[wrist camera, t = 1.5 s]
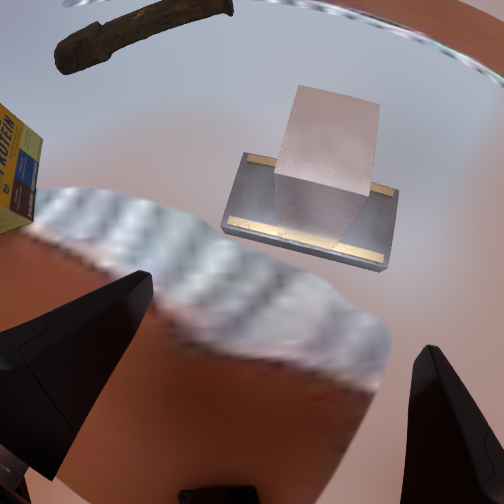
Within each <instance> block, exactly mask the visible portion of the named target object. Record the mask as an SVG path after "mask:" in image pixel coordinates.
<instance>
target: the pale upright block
mask: <svg viewBox="0 0 504 504" xmlns="http://www.w3.org/2000/svg"><path fill="white" fill-rule="evenodd" d="M379 108H380V104H376V103H373V102H369V101H366V100H362V99H358V98H354V97H350V96H347V95H342V94H338V93H334V92H329V91H324V90H321V89H316V88H311V87H306V86H300V85H298V89H297V92H296V96H295V99H294V103H293V106H292V110H291V113H290V117H289V121H288V125H287V128H286V131H285V135H284V138H283V142H282V145H281V149H280V152H279V156H278V159H277V163H276V166H275V170H274V184H275V198H276V213H277V229H278V232H281V233H285V234H290V235H294V236H298V237H302V238H306V239H309V240H313V241H317V242H321V243H325V244H329V245H333V246H336V244H337V243H338V242H339V240H340V239H341V237H342V236H343V234H344V233H345V231H346V230H347V228H348V227H349V225H350V224H351V222H352V221H353V219H354V218H355V216H356V215H357V213H358V212H359V210H360V209H361V207H362V206H363V204H364V203H365V201H366V200H367V198H368V197H369V192H370V185H371V178H372V171H373V163H374V156H375V147H376V139H377V130H378V120H379Z"/></svg>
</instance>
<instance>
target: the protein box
mask: <svg viewBox="0 0 504 504" xmlns="http://www.w3.org/2000/svg"><path fill="white" fill-rule="evenodd" d="M42 143H43V139H42V138H41V137H40V136H39V135H37V134H36V133H35V132H34V131H33V130H31V129H30V128H29V127H28V126H27V125H25V124H24V123H23V122H22V121H21V120H19V119H18V118H17V117H16V116H15V115H13V114H12V113H11V112H10V111H9V110H8V109H7V108H5V107H4V106H3V105H2V104H1V103H0V234H1V233H4V232H6V231H9V230H12V229H15V228H18V227H20V226H23V225H26V224H29V223H32V222H33V210H34V199H35V190H36V182H37V174H38V167H39V161H40V155H41V149H42Z"/></svg>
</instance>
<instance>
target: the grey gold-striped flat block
mask: <svg viewBox="0 0 504 504" xmlns="http://www.w3.org/2000/svg"><path fill="white" fill-rule="evenodd" d="M276 163H277V159H275V158H270V157H265V156H261V155H255V154H250V153H245V152H244V153H243V156H242V159H241V162H240V165H239V168H238V171H237V174H236V177H235V181H234V184H233V187H232V190H231V193H230V196H229V199H228V202H227V206H226V209H225V212H224V215H223V218H222V222H221V225H220V227H221V228H222V230H223V231H224V233H225V234H229V235H233V236H238V237H241V238H246V239H249V240H254V241H258V242H261V243H265V244H269V245H274V246H277V247H281V248H285V249H289V250H294V251H297V252H301V253H305V254H309V255H313V256H317V257H321V258H325V259H329V260H333V261H337V262H340V263H345V264H348V265H352V266H356V267H360V268H364V269H368V270H371V271H375V272H379V273H380V272H381V271H383V270H385V269H387V268H388V263H389V257H390V252H391V246H392V239H393V233H394V226H395V219H396V212H397V203H398V196H399V190H397V189H393V188H390V187H387V186H383V185H380V184H376V183H373V182H371V185H370V192H369V197H368V198H367V200H366V201H365V203H364V204H363V206H362V207H361V209H360V210H359V212H358V213H357V215H356V216H355V218H354V219H353V221H352V222H351V224H350V225H349V227H348V228H347V230H346V231H345V233H344V234H343V236H342V237H341V239H340V240H339V242H338V243H337V244H336V246H333V245H329V244H325V243H321V242H317V241H313V240H309V239H306V238H302V237H298V236H294V235H290V234H285V233H281V232H278V229H277V213H276V198H275V184H274V170H275V166H276Z"/></svg>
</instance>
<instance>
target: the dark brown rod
mask: <svg viewBox="0 0 504 504" xmlns="http://www.w3.org/2000/svg"><path fill="white" fill-rule="evenodd" d="M222 13H224V14H227V15H229V16H230V17H231V16H233V13H234V9H233V2H232V0H162V1H159V2H157V3H154V4H151V5H148V6H146V7H143V8H141V9H139V10H136V11H133V12H131V13H129V14H126V15H124V16H121V17H119V18H117V19H114V20H112V21H109V22H106V23H105V24H104V25H101V24H100V23H99V22H98V21H97V22H94V23H92V24H90V25H88V26H87V27H85V28H83V29H81V30H79V31H77V32H75V33H73V34H71V35H69V36H68V37H67V38H66V39H64V40H62V41H61V42H59V43H58V45H57V47H56V49H55V51H54V58H55V65H56V67H57V69H58V70H59V71H60V72H61V73H62V74H63V75H69V74H72V73H76V72H78V71H82V70H84V69H86V68H89V67H91V66H93V65H96V64H99V63H102V62H106V61H107V60H109V59H110V58H111V55H112V53H114V52H115V51H117V50H119V49H121V48H123V47H125V46H127V45H130V44H133V43H135V42H137V41H139V40H143V39H147V38H148V37H150V36H152V35H154V34H157V33H160V32H163V31H166V30H168V29H171V28H175V27H178V26H181V25H184V24H187V23H190V22H193V21H197V20H201V19H205V18H208V17H211V16H213V15H218V14H222Z"/></svg>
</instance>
